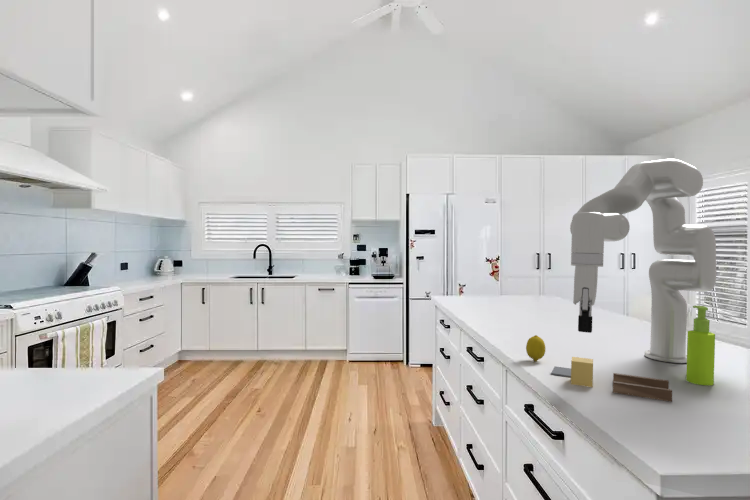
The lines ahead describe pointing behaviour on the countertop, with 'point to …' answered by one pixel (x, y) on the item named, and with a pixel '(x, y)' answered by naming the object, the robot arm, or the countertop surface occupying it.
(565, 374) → the slate coaster
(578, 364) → the ochre block
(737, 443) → the countertop surface
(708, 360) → the soap dispenser
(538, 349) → the lemon
